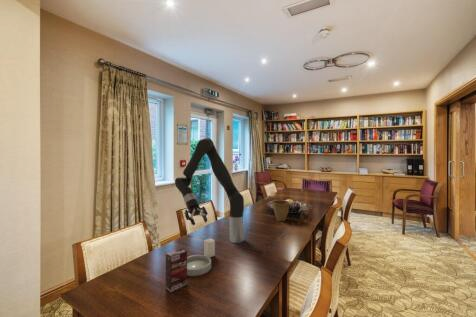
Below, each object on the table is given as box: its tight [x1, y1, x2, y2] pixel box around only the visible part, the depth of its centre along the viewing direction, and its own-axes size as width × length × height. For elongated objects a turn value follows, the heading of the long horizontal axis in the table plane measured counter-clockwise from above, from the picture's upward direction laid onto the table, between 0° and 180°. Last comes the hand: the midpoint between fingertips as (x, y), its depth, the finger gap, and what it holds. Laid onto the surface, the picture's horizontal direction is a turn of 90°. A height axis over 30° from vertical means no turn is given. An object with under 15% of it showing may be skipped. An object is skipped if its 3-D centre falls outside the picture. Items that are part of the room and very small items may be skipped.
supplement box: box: [165, 248, 188, 293], centre depth 103 cm, size 9×5×16 cm, turn 136°
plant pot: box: [272, 199, 291, 222], centre depth 200 cm, size 15×15×16 cm
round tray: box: [187, 254, 212, 277], centre depth 120 cm, size 16×16×3 cm
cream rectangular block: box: [203, 237, 216, 258], centre depth 134 cm, size 5×5×9 cm
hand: (200, 223), depth 141 cm, fingers open, 8 cm apart
